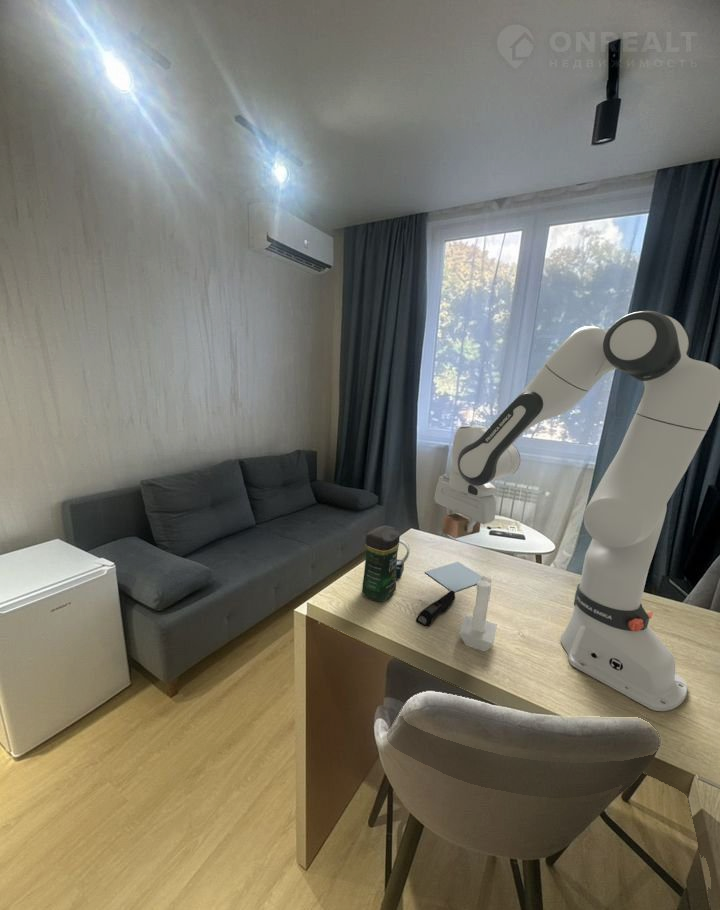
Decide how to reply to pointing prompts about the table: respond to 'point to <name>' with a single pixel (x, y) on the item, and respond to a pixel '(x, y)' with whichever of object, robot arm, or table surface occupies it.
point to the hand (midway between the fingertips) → (460, 527)
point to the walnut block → (458, 525)
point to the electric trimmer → (435, 609)
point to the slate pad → (454, 576)
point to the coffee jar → (380, 563)
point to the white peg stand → (479, 620)
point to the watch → (401, 562)
